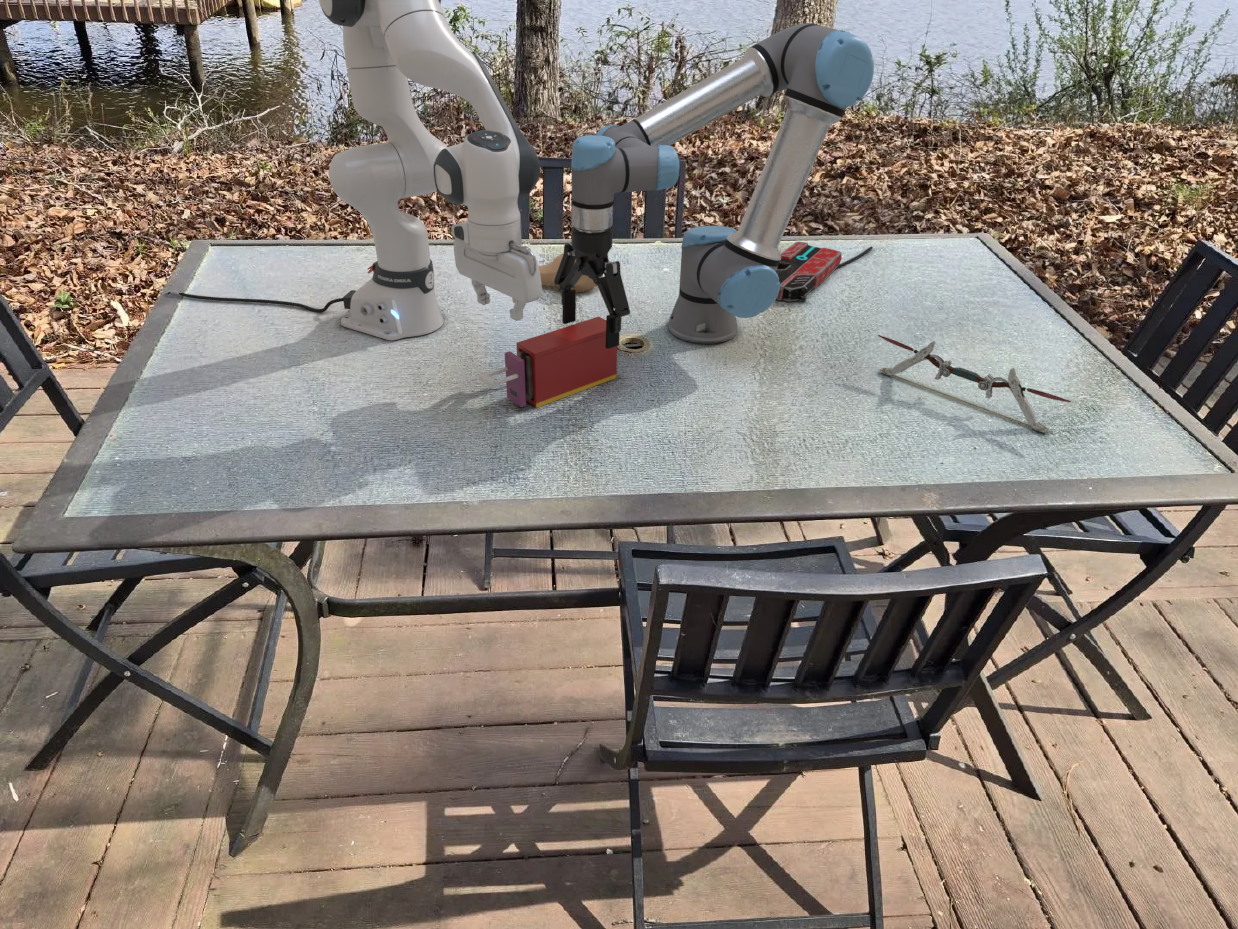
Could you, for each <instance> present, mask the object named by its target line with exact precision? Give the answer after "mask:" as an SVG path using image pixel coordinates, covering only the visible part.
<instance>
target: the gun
mask: <svg viewBox="0 0 1238 929" xmlns="http://www.w3.org/2000/svg"><path fill="white" fill-rule="evenodd" d="M780 255H781V260H780V263H779V265H778V267H777V270H776V273H777V275H778V277H779V282H780V290H779V293H778V296H777V298H776V300H777V301H785V302H790V303H791V302H794V301H800V302H802V303H805V302H806V300H807V295H808V294H809V293H810V292H811V291H812V290H815V289H817V287H819V286H820V285H821V284H823V283H824V282H825V281H826V279H828V278H829V277H830V275H831V274H832V273H833V272H834V271H835V270H837V269H838V268H837V267H838V266H839V264H841V263H842V257H843V255H842V251H840V250H837V249H833V248H827V247H818V246H815V245H810V244H809V243H808V242H804V241H794V243H793V244H791V245H790V246H788V247H787V248H786V249H785V250H783V251H782V252H780ZM836 268H837V269H836Z"/></svg>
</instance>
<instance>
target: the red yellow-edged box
mask: <svg viewBox="0 0 1238 929" xmlns="http://www.w3.org/2000/svg"><path fill="white" fill-rule="evenodd" d="M522 350H523V351H524V352H526V353H528V354H529V355H531V356H532V363H533V392H534V399H531V400H529V399H528V398H526V402H527V403H529V404H531V405H532V406H533V407H535V408H536V409H537V408H540V407H543V406H546V405H548V404H551V403H554V402H556V401H559V400H561V399H565V398H566V397H570V396H572V395H575V394H578V393H580V392H583V391H585V390H588V389H591V388H594V387H596V386H599V385H601V384H605V383H607V382H610V381H612V380H616V379H617V377H618V374H617V372H618V346H615V347H612V348H609V349H607V348H606V319H604V318H603V317H601V316H596V317H592V318H589V319H586V320H583V321H580V322H577V323H574V324H571V325H568V326H564V327H561V328H558V329H555V330H552V331H548V332H545V333H543V334H539V335H536V336H533V337H530V338H526V339H523V340H520V341H517V342H516V355H517V356H518V357H519V351H522Z"/></svg>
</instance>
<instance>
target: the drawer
mask: <svg viewBox="0 0 1238 929" xmlns="http://www.w3.org/2000/svg"><path fill="white" fill-rule="evenodd" d="M504 366H505V367H501V368H498V369H496V370H492V371H490V372H487V373H486V372H484V371H481V372H479V373H478V375H477V378H478V380H480V381H481V382H482V383H483V384H485V385H487V386H488V387H489V388H491V389H493V390H495V389H496V388H498V386H499V385H501V384H503V383H505V386H506V398H507V399H509V401H511V402H513V403H514V404H516V405H517V406H519V407H520V408H523V407H525V406H527V401H526V398H528V399H529V400H531V399H534V392H533V363H532V356H531V355H529V354H528V353H526V352H524V351H523V350H522V351H519V357H518V356H517V354H515V353H514V352H512V351H511V350H509V351H505V352H504ZM502 373H505V377H502V378H500V379H497V380H496V379H495V378H493V377H494V376H497V375H499V374H502Z"/></svg>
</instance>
